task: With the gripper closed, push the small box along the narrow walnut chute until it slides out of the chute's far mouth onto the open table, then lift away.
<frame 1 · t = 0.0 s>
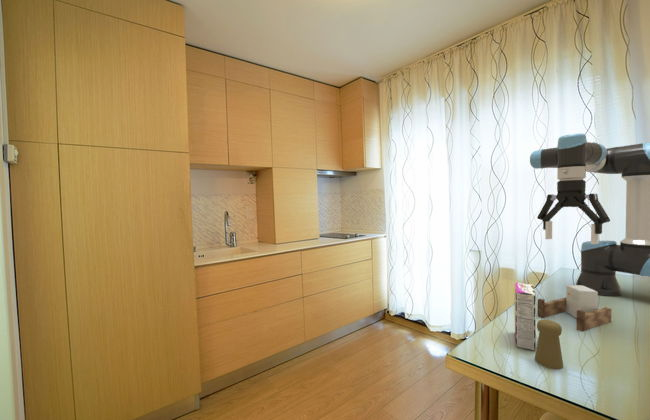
hand: (570, 241, 102), 28 cm above the table, tool pointing down, fingers open, 13 cm apart
small box: (581, 317, 106), on the table
candy bar box: (524, 342, 89), on the table
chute: (573, 319, 104), on the table
cork: (548, 363, 77), on the table
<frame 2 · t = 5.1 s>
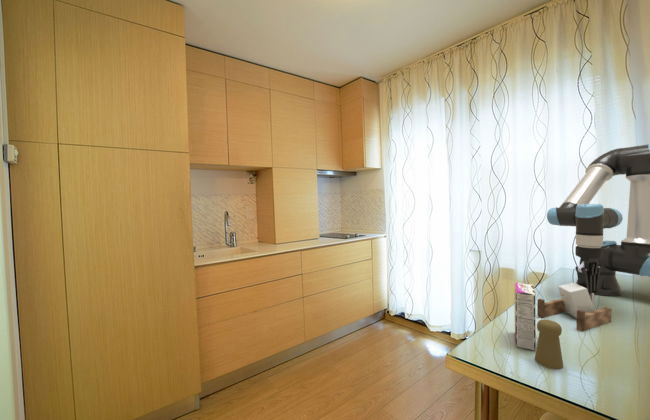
hand: (588, 309, 108), 2 cm above the table, tool pointing down, fingers closed
small box: (581, 315, 106), point 1 cm above the table, touching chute, gripper, hand
everything else where it was.
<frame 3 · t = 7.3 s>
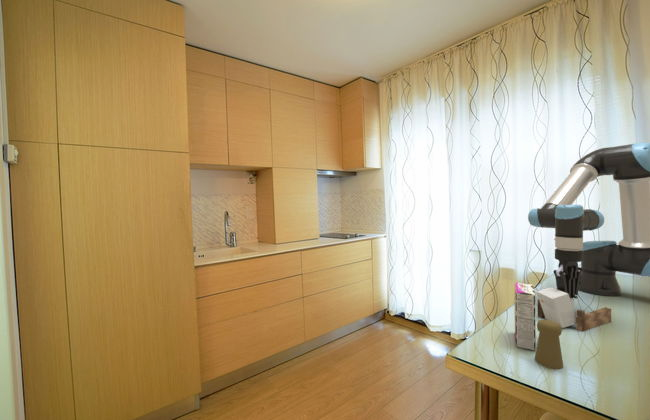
hand: (567, 315, 103), 2 cm above the table, tool pointing down, fingers closed
small box: (561, 321, 101), point 1 cm above the table, touching gripper, hand
everything else where it was.
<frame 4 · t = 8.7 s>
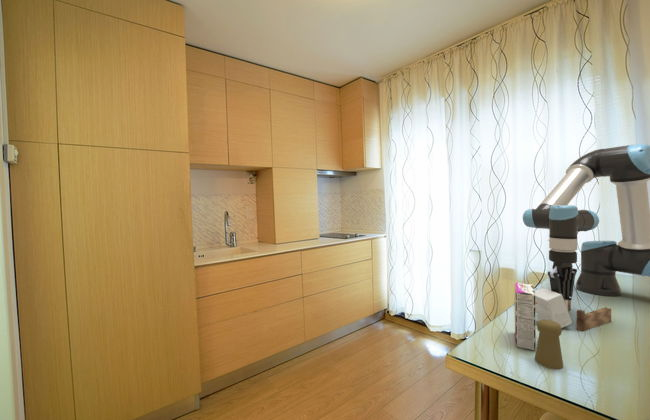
hand: (561, 317, 101), 2 cm above the table, tool pointing down, fingers closed
small box: (555, 322, 100), point 1 cm above the table, touching gripper, hand
everything else where it was.
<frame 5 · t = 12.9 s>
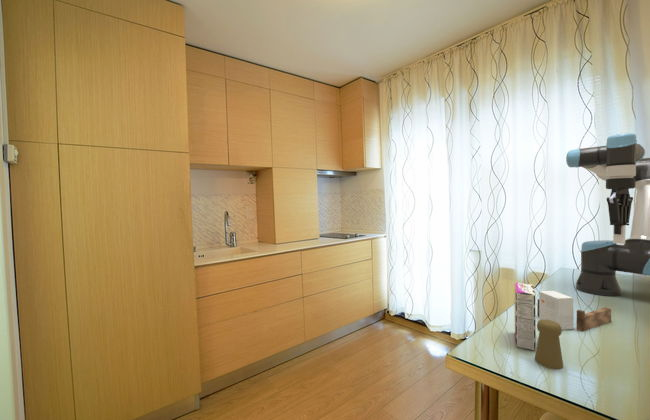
hand: (619, 243, 106), 26 cm above the table, tool pointing down, fingers closed
small box: (555, 325, 100), on the table
everything else where it was.
at the end: small box inside the target area (4.2 cm from its centre), on the table; small box tilted 0° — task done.
